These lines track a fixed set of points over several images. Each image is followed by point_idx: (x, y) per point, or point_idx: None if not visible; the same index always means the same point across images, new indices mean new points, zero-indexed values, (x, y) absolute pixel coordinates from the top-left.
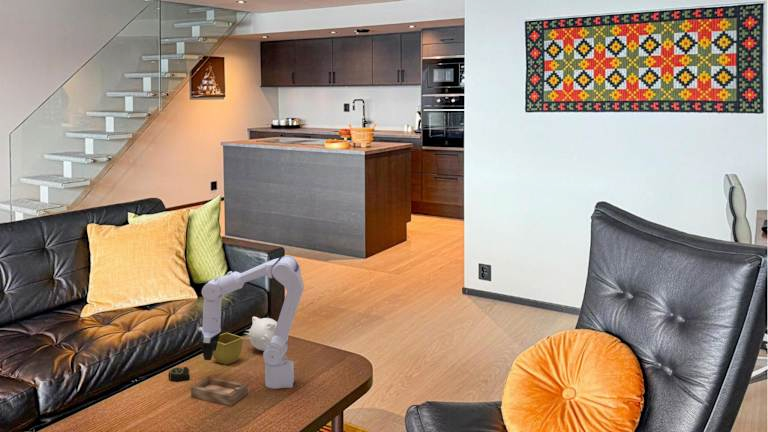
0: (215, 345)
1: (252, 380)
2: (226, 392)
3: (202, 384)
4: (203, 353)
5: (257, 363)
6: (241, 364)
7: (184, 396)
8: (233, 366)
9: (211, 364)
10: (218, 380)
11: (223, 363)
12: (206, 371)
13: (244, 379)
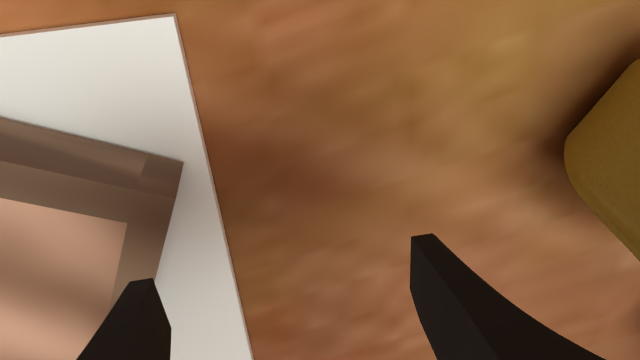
0: (434, 340)
1: (337, 339)
2: (40, 339)
3: (27, 197)
4: (85, 352)
5: (562, 297)
6: (563, 224)
7: (5, 15)
8: (540, 189)
9: (601, 30)
10: (119, 292)
11: (578, 128)
12: (478, 34)
13: (348, 301)
